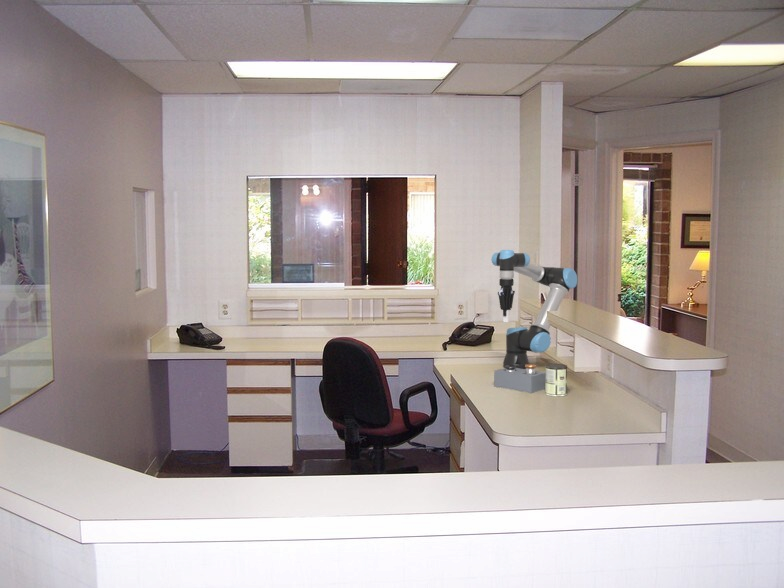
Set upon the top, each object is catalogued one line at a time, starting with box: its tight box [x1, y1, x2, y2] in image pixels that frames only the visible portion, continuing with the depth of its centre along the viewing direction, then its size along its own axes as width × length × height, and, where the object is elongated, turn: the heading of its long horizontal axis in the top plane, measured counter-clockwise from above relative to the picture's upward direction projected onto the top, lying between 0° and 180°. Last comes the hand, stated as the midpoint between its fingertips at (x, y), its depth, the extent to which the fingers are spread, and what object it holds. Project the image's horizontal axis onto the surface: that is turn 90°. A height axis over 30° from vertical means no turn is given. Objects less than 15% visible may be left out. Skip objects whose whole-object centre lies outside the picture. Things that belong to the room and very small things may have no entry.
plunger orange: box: [525, 363, 537, 375], centre depth 354 cm, size 5×5×8 cm
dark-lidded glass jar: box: [504, 365, 516, 372], centre depth 363 cm, size 5×5×8 cm
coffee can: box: [544, 363, 568, 398], centre depth 343 cm, size 10×10×14 cm
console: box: [493, 367, 546, 394], centre depth 358 cm, size 14×22×8 cm, turn 46°
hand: (506, 321), depth 387 cm, fingers closed
